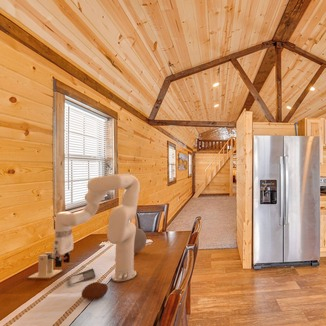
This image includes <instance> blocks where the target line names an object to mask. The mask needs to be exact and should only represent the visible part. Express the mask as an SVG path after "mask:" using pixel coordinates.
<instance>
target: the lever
mask: <svg viewBox="0 0 326 326" xmlns="http://www.w3.org/2000/svg"><path fill="white" fill-rule="evenodd" d="M44 255H48V259H53V258H52V257H51V256H50V254H45V253H44ZM67 258H68V257H67V256H66V257H64V256H63V257H61V260H62V262H63V260H65V259H67ZM53 260H54V259H53Z"/></svg>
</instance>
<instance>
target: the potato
mask: <svg viewBox="0 0 326 326" xmlns="http://www.w3.org/2000/svg"><path fill="white" fill-rule="evenodd" d="M108 289H109V287H108V284H107V283H105V282H104V283H102V282H99V281H93V282H91V283H88V284H87V285H86V286H85V287H84V288H83V289H82V291H81V297H82V298H83V299H84V300H89V301H96V300H99V299H101V298H103V297H104V296H105V295H106V294H107V292H108Z"/></svg>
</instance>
